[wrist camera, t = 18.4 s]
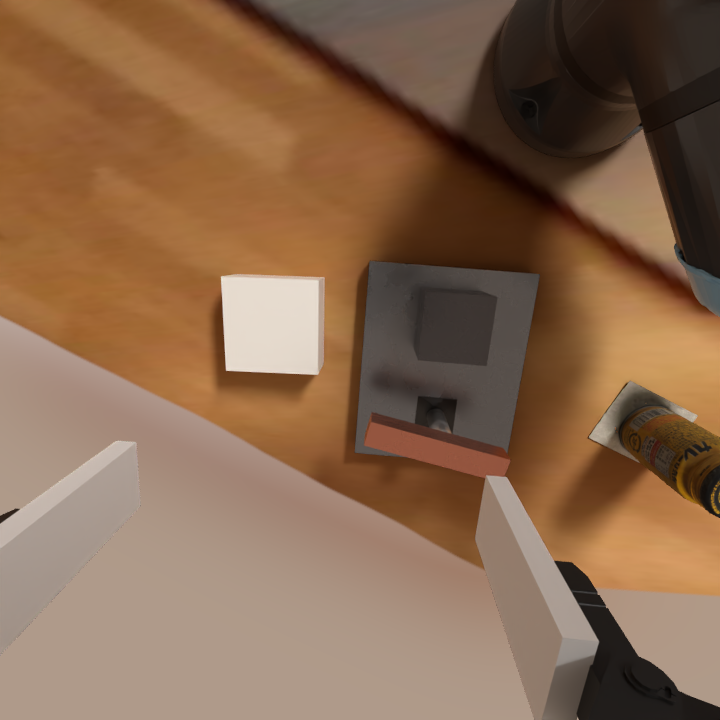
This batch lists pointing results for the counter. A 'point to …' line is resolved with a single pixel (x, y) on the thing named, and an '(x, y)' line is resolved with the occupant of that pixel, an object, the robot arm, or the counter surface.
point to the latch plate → (439, 377)
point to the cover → (273, 323)
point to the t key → (435, 445)
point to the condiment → (664, 443)
